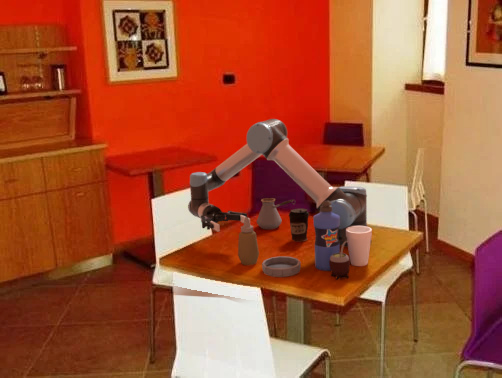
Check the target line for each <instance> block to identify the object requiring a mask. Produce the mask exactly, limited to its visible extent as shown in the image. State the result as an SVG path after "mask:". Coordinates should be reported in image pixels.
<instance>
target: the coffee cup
mask: <svg viewBox="0 0 502 378" xmlns="http://www.w3.org/2000/svg"><path fill="white" fill-rule="evenodd" d="M309 216H310V213H309V212H308V209H306V208H295V209H294V208H293V209H291V210H290V211H289V213H288V219H289V224H290V225H289V227H290V234H291V240H292V241H293V242H299V243H300V242H305V241H307V240H308V237H307V234H308V228H309Z"/></svg>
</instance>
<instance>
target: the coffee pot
mask: <svg viewBox="0 0 502 378" xmlns="http://www.w3.org/2000/svg"><path fill="white" fill-rule="evenodd" d="M260 201H261V202H262V206H261V208H260V211H259V213H258V216H257V219H256V224H257V225H258V226H259V227H260V228H261V229H262V230H274V229H277V228H278V227H279V226H280V225H281V224H282V221H283V220H282V218H281V216H280V214H279V212H278V210H277V208H278V207H280V206H286V205H287V204H289V203H291V204H293V205H294V204H296V200H295V199H289V200H286V201H282V202H281V203H279V204H276V205H275V201H276V198H273V197H270V198H269V197H267V198H266V197H265V198H261V200H260ZM293 202H294V203H293Z"/></svg>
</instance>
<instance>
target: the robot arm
mask: <svg viewBox="0 0 502 378" xmlns="http://www.w3.org/2000/svg"><path fill="white" fill-rule="evenodd" d="M287 128H288V127H287V125H286V124H285V123H284V122H283V121H281V120H279V119H277V118H269V119H266V120H263V121H258V122H256V123H254V124H253V125H251V126H250V127H249V129H248V131H247V133H246V144H244V145H243V146H242V147H241V148H240V149H238V150H237V151H236V152H234V153H233V154H232V155H230V156H229V157H228V158H226V159H225V160H224V161H223V162H222V163H220V164H219V165H217V166H216V167H215V168H213V169H212V170H211V171H210V172H208V173H206V172H202V171H196V172H192V173H191V174H190V175H189V188H190V190H189V191H190V201H189V203H188V205H187V209H188V211H189V213H190V214H191V215H192V216H194V217H197V218H198V219H200V223H201V228H202V229H206V230H211V229H212V230H213V231H215V232H220V231H221V229H220V224H218V223H219V222H228V221H235V222H236V221H238V222H241V223H242V224H244V220H245V217H248V214H247V213H246V212H245V213H244V212H239V211H237V212H236V211H232V210H228V211H226V212H225V211H224V212H223V211H222V210H221V208H220V207H218V206H216V205H214V204H211V203H209V192H211V191H213V190H215V189H218V188H220V187H222V186H223V185H225V183H226V182H227V181H228V180H229V179H231V178H233V177H234V176H235V175H236V174H238V173H239V172H241V171H242V170H243V169H244V168H246V167H247V166H248V165H251V163H252V162H254V161H256V159H258V158H260V157H261V156H263V157H264V158H265V159H266V160H267V161H273V162H275V163H276V164H277V165H278V166H279V168H281V169H282V170H283V171H284V173H286V174H287V176H289V177H290V178H291V179H292V180H293V182H295V183H296V184H297V185H298V186H299V187H300V188H301V189H302V190H303V191H304V192H305V193H306V194H307V195H308V196H309V197H310V198H311V199H312V201H314V202H315V204H316V209H317V210H318V211H319V213H320V212H321V211H320V206H322V205H321V203H322V202H323V201H324V200H329V201H330V202H331V203H332V204H331V205H330V206H332V212H333V213H334V214H337V215H339V218H340V225H339V232H338V238H339V243H340V247H342V244H343V243H344V242H345V241H347V237H346V228H348V227H351V226H366V227H369V226H368V222H367V221H368V219H367V218H368V217H367V215H368V214H367V213H368V212H367V210H368V209H367V207H368V204H367V197H368V195H367V189H366V187H361V186H355V185H354V186H351V185H350V186H347V185H346V186H339V187H338V186H332V185H331V184H330V183H329V182H328V181H327V180H326V179H325V178H324V177H323V176H321V174H320V173H318V172H317V171H316V170H315V169H314V168H313V167H312V166H311V165H310V164H309V163H308V162H307V161H306V160H305V159H304V158H303V157H302V156H301V155H300V154H299V153H298V152H297V151H296V150H295V149H294V148H293V147H292V146H291V145H290V144H289V141H290V139H289V138H288V129H287ZM248 219H249V223H250V224H251V218H250V217H248ZM371 243H372V241H371V242H370V244H371ZM344 247H345V248H346V247H347V248H348V243H347V242H346V243H345V244H344ZM344 247H343V248H344Z"/></svg>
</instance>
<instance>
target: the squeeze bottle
mask: <svg viewBox="0 0 502 378" xmlns="http://www.w3.org/2000/svg"><path fill="white" fill-rule="evenodd" d="M248 218H249V216H247V217H245V220H244V223H243V225H241V226H240V232H239V233H238V245H237V246H238V247H237V249H238V250H237V256H238V259H239V261H240V263H241V264H242V265H244V266H253V265H255V264H257V262H258V258H259V255H260V251H259V245H258V239H257V238H258V237H257V233H256V232H255V231H254V225H251V222H250V223H249V219H248Z"/></svg>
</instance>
